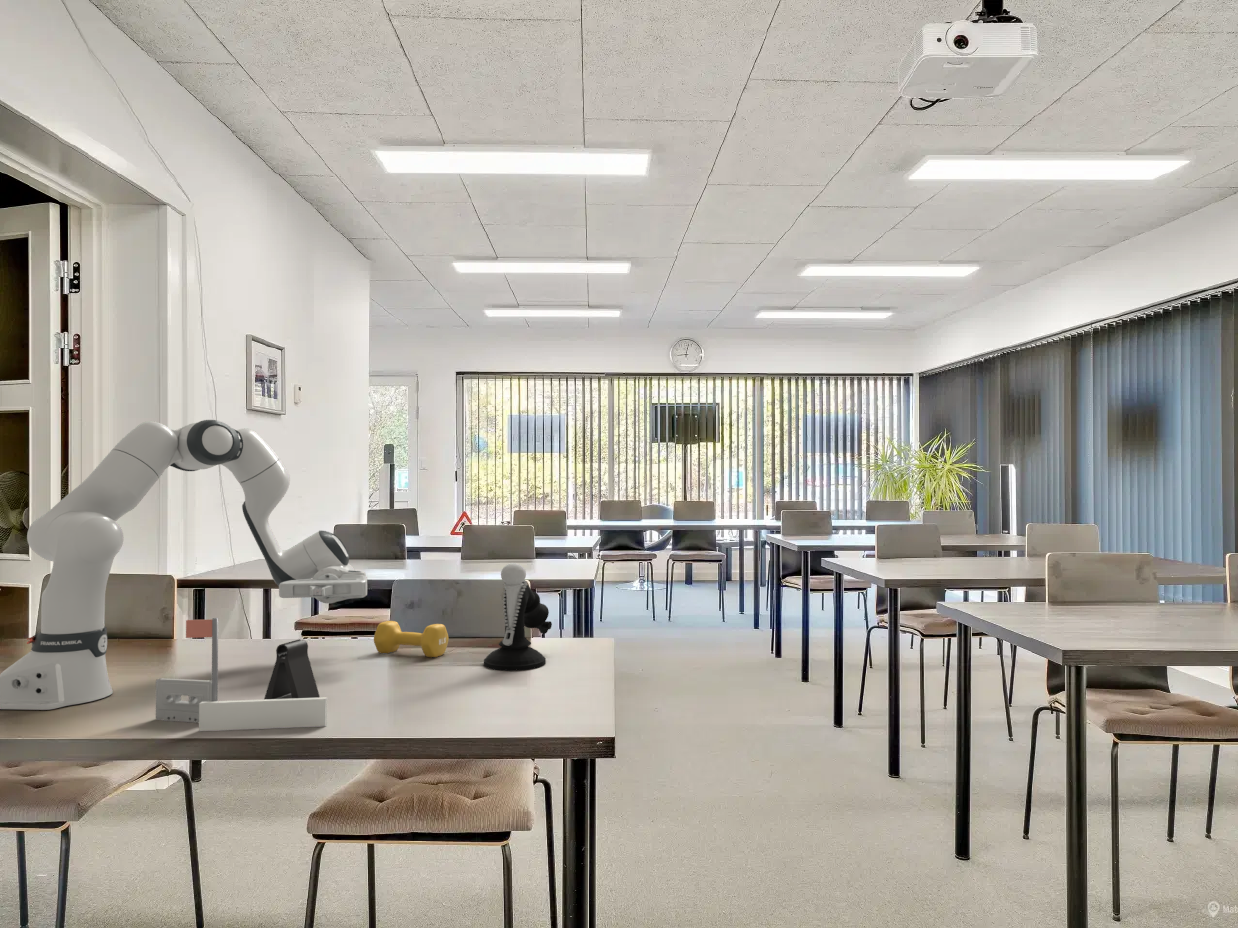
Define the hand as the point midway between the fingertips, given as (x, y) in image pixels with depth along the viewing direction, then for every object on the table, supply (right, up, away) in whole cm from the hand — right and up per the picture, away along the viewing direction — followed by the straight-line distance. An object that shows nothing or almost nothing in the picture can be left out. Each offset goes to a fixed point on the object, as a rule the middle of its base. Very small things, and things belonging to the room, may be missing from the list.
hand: (317, 592), depth 188 cm
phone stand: (+3, -19, -21) cm, 29 cm away
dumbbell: (+16, -20, +23) cm, 35 cm away
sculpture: (+46, -20, +16) cm, 53 cm away
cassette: (-12, -19, -36) cm, 42 cm away
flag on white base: (+3, -19, -34) cm, 39 cm away
